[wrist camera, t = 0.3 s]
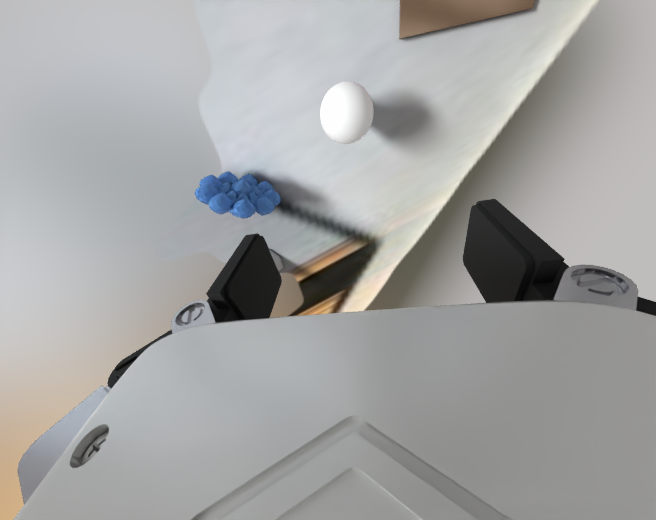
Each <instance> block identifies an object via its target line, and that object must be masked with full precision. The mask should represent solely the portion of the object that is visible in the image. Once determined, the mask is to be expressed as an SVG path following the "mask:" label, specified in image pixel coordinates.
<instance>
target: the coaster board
mask: <svg viewBox="0 0 656 520" xmlns="http://www.w3.org/2000/svg"><path fill="white" fill-rule="evenodd" d="M534 2H535V0H400V39H402V38H406V37H410V36H415V35H419V34H423V33H428V32H432V31H437V30H441V29H445V28H450V27H454V26H458V25H463V24H467V23H472V22H476V21H480V20H485V19H489V18H494V17H498V16H502V15H507V14H511V13H515V12H520V11H524V10H529V9H531V8H533V6H534Z"/></svg>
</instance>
